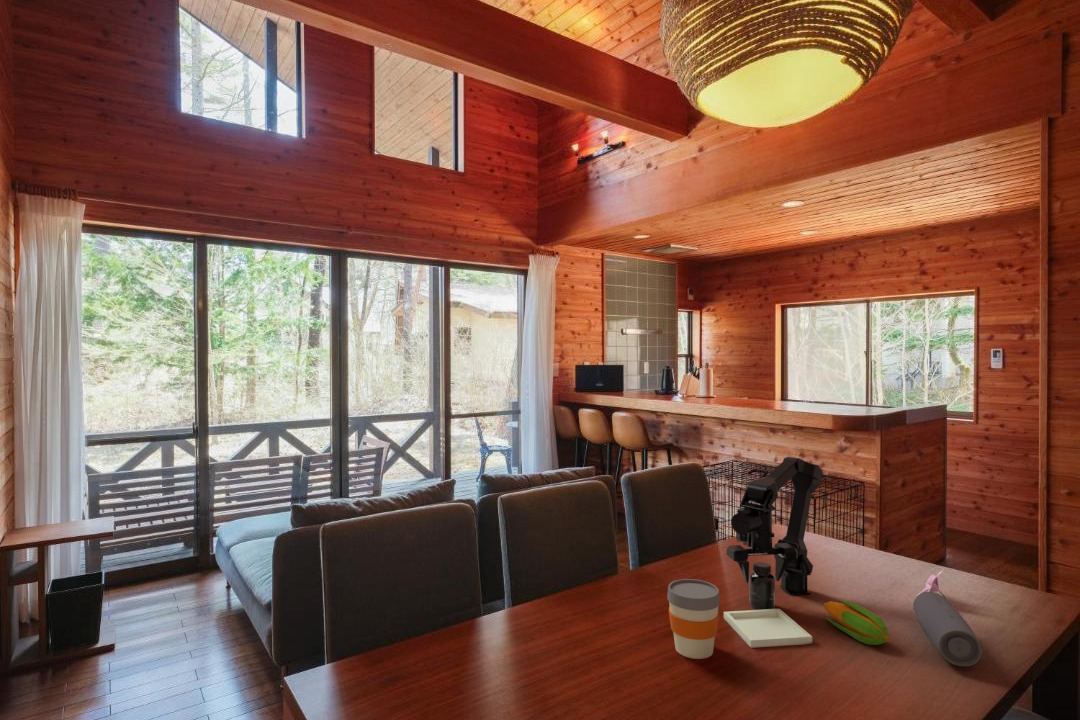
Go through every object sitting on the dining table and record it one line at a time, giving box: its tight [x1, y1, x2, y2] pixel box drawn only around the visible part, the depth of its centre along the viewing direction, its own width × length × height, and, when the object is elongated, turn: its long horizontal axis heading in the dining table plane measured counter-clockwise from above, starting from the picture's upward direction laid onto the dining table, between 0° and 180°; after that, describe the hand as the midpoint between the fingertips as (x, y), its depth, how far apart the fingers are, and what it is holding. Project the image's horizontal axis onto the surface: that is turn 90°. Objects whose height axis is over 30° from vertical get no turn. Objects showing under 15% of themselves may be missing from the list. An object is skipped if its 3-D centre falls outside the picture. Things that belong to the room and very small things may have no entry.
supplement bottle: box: [748, 561, 776, 610], centre depth 165 cm, size 7×7×12 cm
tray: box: [723, 608, 813, 649], centre depth 151 cm, size 16×16×2 cm
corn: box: [823, 598, 890, 646], centre depth 149 cm, size 7×8×20 cm
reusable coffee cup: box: [666, 578, 721, 660], centre depth 141 cm, size 13×13×15 cm
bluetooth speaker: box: [912, 591, 983, 667], centre depth 140 cm, size 23×9×10 cm, turn 160°
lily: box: [915, 568, 949, 601], centre depth 167 cm, size 12×12×10 cm
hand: (762, 581), depth 165 cm, fingers open, 9 cm apart
